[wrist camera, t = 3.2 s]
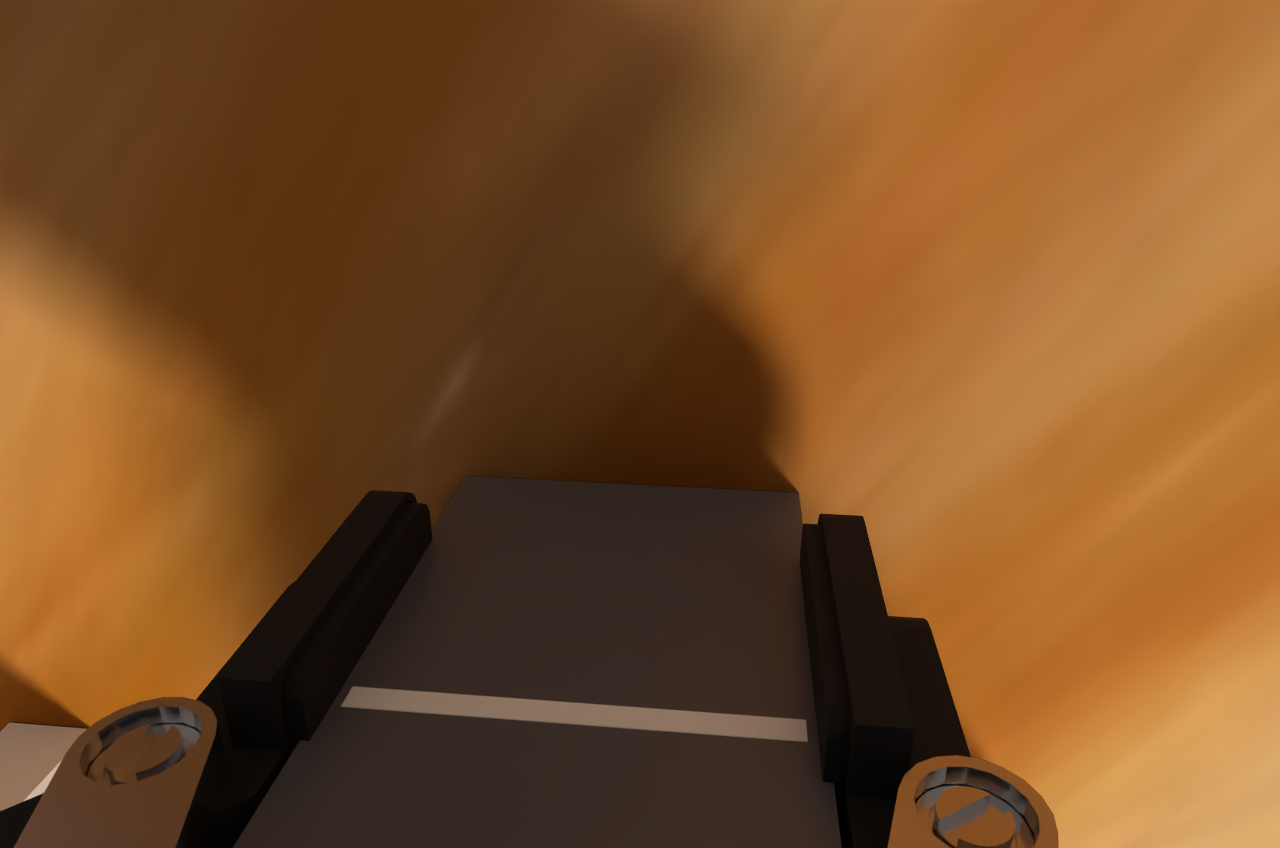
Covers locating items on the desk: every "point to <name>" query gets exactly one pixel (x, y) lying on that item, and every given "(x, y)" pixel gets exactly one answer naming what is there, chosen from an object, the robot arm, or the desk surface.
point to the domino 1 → (31, 759)
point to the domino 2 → (576, 684)
